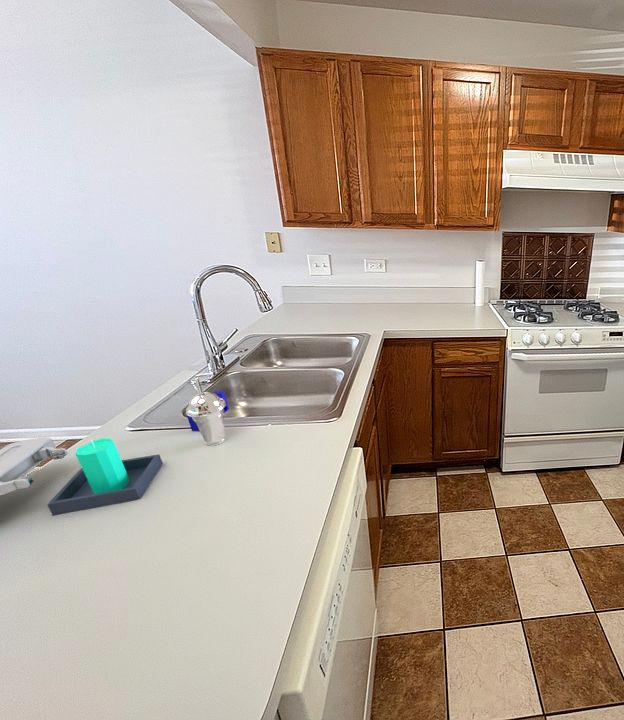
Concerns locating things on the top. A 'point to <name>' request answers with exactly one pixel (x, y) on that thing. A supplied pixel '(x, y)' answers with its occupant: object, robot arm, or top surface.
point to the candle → (102, 465)
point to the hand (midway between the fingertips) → (48, 466)
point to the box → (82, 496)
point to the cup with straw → (208, 414)
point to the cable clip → (222, 395)
